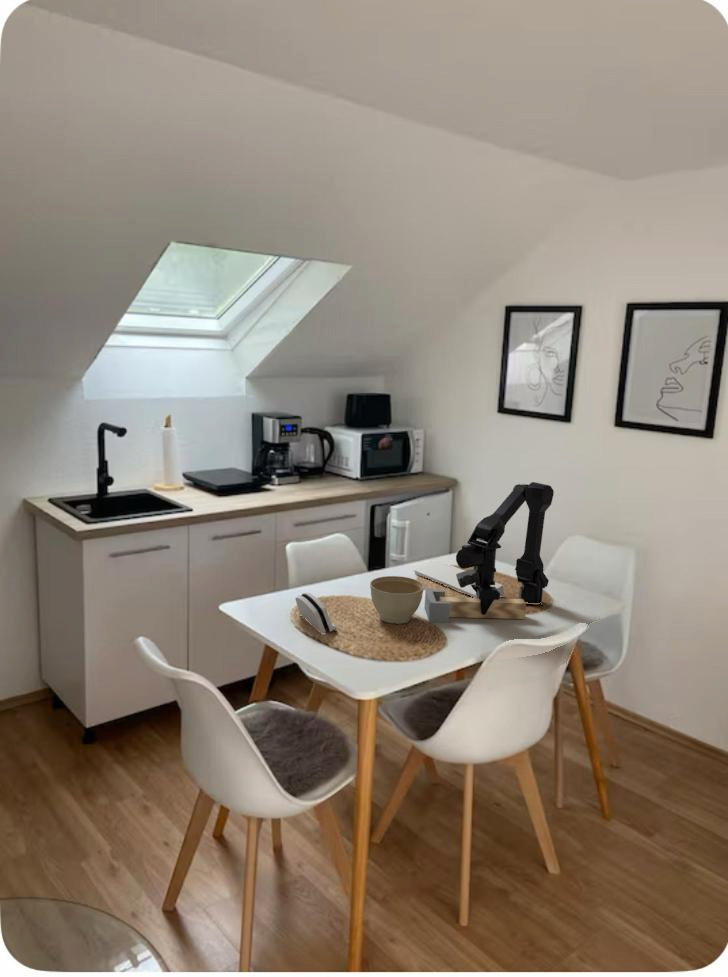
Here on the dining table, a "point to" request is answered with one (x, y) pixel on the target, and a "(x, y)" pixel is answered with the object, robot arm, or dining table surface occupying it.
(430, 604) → the end cap
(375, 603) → the planter bowl
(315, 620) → the grey black arched block
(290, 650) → the dining table surface
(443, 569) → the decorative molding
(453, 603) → the oak slat
